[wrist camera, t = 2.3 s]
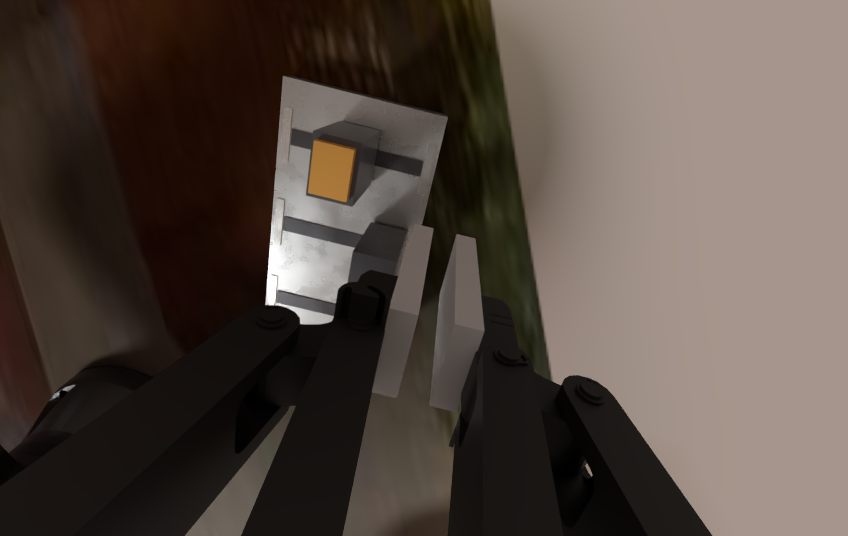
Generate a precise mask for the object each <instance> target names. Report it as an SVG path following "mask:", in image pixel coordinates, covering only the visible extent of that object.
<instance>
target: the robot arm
mask: <svg viewBox="0 0 848 536" xmlns="http://www.w3.org/2000/svg"><path fill="white" fill-rule="evenodd" d="M433 229H434V228H430V227H426V226H422V225H418V224H414V227H413V231H412V234H411V237H410V240H409V244H408V247H407V250H406V253H405V257H404V260H403V263H402V266H401V270H400V273H399V276H395V275H391V274H386V273H382V272H378V271H374V270H369V271H367V272H365V273H364V274H362V275H361V276H360V278H359V280H358V282H349V283H346V284H344V285H342V286H341V287H340V288H339V289H338V293H337V299H336V305H335V312H334V318H333V320H332V321H331V322H329V323H324V324H313V325H312V324H300V317H299V316H298V315H297V314H296V313H295V312H294V311H292V310H290V309H289V308H286V307H282V306H278V305H264V306H258V307H255V308H253V309H250V310H248V311H247V312H245V313H244V314H242V315H241V316H239V317H238V318H237V319H235V320H234V321H232V322H231V323H230V324H228V325H227V326H225V327H224V328H223V329H221V330H220V331H218V332H217V333H216V334H214V335H213V336H211V337H210V338H208V339H207V340H206V341H204V342H203V343H201V344H200V345H199V346H197V347H196V348H194V349H193V350H192V351H190V352H189V353H187V354H186V355H184V356H183V357H182V358H180V359H179V360H177V361H176V362H175V363H173V364H172V365H170V366H169V367H168V368H166V369H165V370H163V371H162V372H161V373H159V374H158V375H156V376H155V377H153V378H150V377H148V376H145V375H143V374H141V373H138V372H135V371H132V370H128V369H124V368H119V367H106V366H105V367H95V368H90V369H87V370H84V371H82V372H80V373H78V374H77V375H76V376H74V377H73V378H72V379H70V380H69V381H68V382H67V383H65V384H64V385H63V386H61V387H60V388H59V389H58V390H57V391H56V392H55V393H54V394H53V396H52V397H51V399H50V400H49V402H48V403H47V405H46V406H45V408H44V409H43V411H42V412H41V414H40V415H39V417H38V418H37V420H36V421H35V422H34V424H33V425H32V427H31V428H30V430H29V431H28V433H27V434H26V436H25V437H24V439H23V440H22V442H21V443H20V444H19V445H18V446H17V447H15V448H14V449H13V450H12V451H10V452H9V453H8V452H7V451H6V450H5V449H4V448H3V447H2V446H1V445H0V536H185V535H186V533H187V532H188V531H189V530H190V529H191V527H192V526H193V525H194V524H195V522H196V521H197V520H198V519H199V518H200V516H201V515H202V514H203V513H204V512H205V510H206V509H207V508H208V507H209V506H210V504H211V503H212V502H213V501H214V500H215V498H216V497H217V496H218V495H219V493H220V492H221V491H222V490H223V489H224V487H225V486H226V485H227V484H228V483H229V481H230V480H231V479H232V478H233V477H234V475H235V474H236V473H237V472H238V470H239V469H240V468H241V467H242V466H243V464H244V463H245V462H246V461H247V460H248V458H249V457H250V456H251V455H252V454H253V452H254V451H255V450H256V449H257V448H258V446H259V445H260V444H261V443H262V441H263V440H264V439H265V438H266V437H267V435H268V434H269V433H270V432H271V431H272V429H273V428H274V427H275V426H276V425H277V423H278V422H279V421H280V420H281V419H282V417H283V416H284V415H285V414H286V412H287V411H288V409H289V407H290V406H295V405H296V407H295V410H294V412H293V414H292V417H291V419H290V422H289V424H288V426H287V429H286V431H285V433H284V436H283V438H282V440H281V443H280V445H279V448H278V450H277V452H276V455H275V457H274V459H273V462H272V464H271V466H270V469H269V471H268V473H267V476H266V478H265V481H264V483H263V485H262V488H261V490H260V492H259V495H258V497H257V499H256V502H255V504H254V507H253V509H252V511H251V514H250V516H249V518H248V521H247V523H246V525H245V528H244V530H243V533H242V535H241V536H342V535H343V530H344V525H345V520H346V515H347V510H348V505H349V501H350V496H351V491H352V486H353V481H354V476H355V471H356V466H357V462H358V457H359V452H360V447H361V442H362V437H363V432H364V427H365V423H366V418H367V413H368V408H369V403H370V398H371V393H377V394H381V395H385V396H390V397H394V398H397V396H398V392H399V388H400V384H401V380H402V377H403V373H404V369H405V365H406V361H407V358H408V354H409V350H410V346H411V342H412V338H413V335H414V331H415V327H416V323H417V319H418V316H419V310H420V304H421V298H422V293H423V287H424V281H425V275H426V269H427V264H428V258H429V252H430V246H431V240H432V235H433ZM460 400H461V413H460V416H459V419H458V422H457V424H456V427H455V430H454V433H453V436H452V438H451V441H450V444H449V446H451V447H453V446H454V443H455V447H454V460H453V474H452V487H451V500H450V514H449V527H448V536H712V535H711V533H710V532H709V530H708V529H707V528H706V526H705V525H704V523H703V522H702V520H701V519H700V518H699V516H698V515H697V513H696V512H695V511H694V509H693V508H692V506H691V505H690V504H689V502H688V501H687V499H686V498H685V496H684V495H683V494H682V492H681V491H680V489H679V488H678V486H677V485H676V484H675V482H674V481H673V479H672V478H671V477H670V475H669V474H668V472H667V471H666V470H665V468H664V467H663V465H662V464H661V462H660V461H659V460H658V458H657V457H656V455H655V454H654V453H653V451H652V450H651V448H650V447H649V445H648V444H647V443H646V441H645V440H644V438H643V437H642V436H641V434H640V433H639V431H638V430H637V428H636V427H635V426H634V424H633V423H632V421H631V420H630V419H629V418H628V416H627V414H626V413H625V412H624V410H623V409H622V407H621V406H620V404H619V403H618V402H617V400H616V399H615V397H614V396H613V395H612V394H611V393H610V392H609V391H608V390H607V389H606V388H605V387H603V386H602V385H601V384H599V383H598V382H596V381H594V380H592V379H590V378H586V377H582V376H578V375H577V376H569V377H567V378H565V379H564V381H563V383H562V385H559V384H556V383H554V382H552V381H550V380H548V379H545V378H544V377H542V376H540V375H538V374H536V373H535V372H534V369H533V364H532V362H531V360H530V358H529V357H528V356H527V355H526V354H525V353H524V352H523V351H522V350H520V349H519V347H518V342H517V338H516V333H515V329H514V324H513V320H512V315H511V310H510V309H509V307H508V306H507V305H506V304H505V303H504V301H503V300H499V299H495V298H491V297H486V296H482V295H481V290H480V280H479V270H478V260H477V249H476V239H475V238H471V237H467V236H463V235H459V234H456V238H455V241H454V245H453V249H452V252H451V256H450V259H449V263H448V266H447V270H446V274H445V277H444V281H443V284H442V288H441V291H440V297H439V308H438V319H437V330H436V341H435V352H434V363H433V374H432V385H431V396H430V406H432V407H437V408H441V409H445V410H449V411H454V412H457V409H458V406H459V403H460ZM586 464H588V465H589V467H590V469H591V472H592V474H593V476H592V477H591V476H590V474H589V473H588V471H587V469H586V467H585V465H586Z"/></svg>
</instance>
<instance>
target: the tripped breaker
mask: <svg viewBox="0 0 848 536" xmlns="http://www.w3.org/2000/svg"><path fill="white" fill-rule="evenodd" d="M379 137H380V131H379V130H375V129H371V128H367V127H363V126H359V125H355V124H351V123H347V122H343V121H338V122H336V123H333V124H330V125H327V126H325V127H322V128H319V129H316V130H313V134H312V143H311V152H310V161H309V170H308V179H307V188H306V196H310V197H314V198H318V199H322V200H326V201H330V202H334V203H338V204H343V205H347V206H351V207H353V205H354V204H355V203H356V202H357V201H358V199H359V198H360V197H361V196H362V195H363V193H364V192H365V191H366V190H367V189H368V187H369V186H370V185H371V182H372V177H373V171H374V165H375V160H376V154H377V148H378V143H379Z"/></svg>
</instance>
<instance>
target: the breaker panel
mask: <svg viewBox="0 0 848 536" xmlns="http://www.w3.org/2000/svg"><path fill="white" fill-rule="evenodd" d="M447 119H448V115H446V114H442V113H438V112H434V111H430V110H427V109H423V108H419V107H415V106H411V105H407V104H403V103H399V102H395V101H391V100H387V99H383V98H379V97H375V96H371V95H367V94H363V93H359V92H355V91H351V90H347V89H343V88H339V87H335V86H331V85H327V84H323V83H319V82H315V81H311V80H307V79H303V78H299V77H296V76H283V83H282V96H281V109H280V121H279V134H278V147H277V160H276V173H275V186H274V199H273V212H272V225H271V238H270V251H269V264H268V277H267V290H266V303H265V305H278V306H282V307H286V308H289V309H290V310H292V311H294V312H295V313H296V314H297V315H298V316H299V317H300V324H312V325H313V324H324V323H329V322H331V321H332V320H333V318H334V312H335V305H336V299H337V293H338V289H339V288H340V287H341V286H342V285H344V284H346V283H349V282H358V280H359V278H360V276H361V275H362V274H364V273H365V272H367V271H369V270H374V271H378V272H382V273H386V274H391V275H395V276H399V273H400V270H401V266H402V263H403V260H404V257H405V253H406V250H407V247H408V244H409V240H410V237H411V234H412V231H413V227H414V224H418V225H422V223H423V219H424V215H425V211H426V206H427V202H428V198H429V194H430V190H431V186H432V182H433V177H434V173H435V169H436V165H437V161H438V157H439V152H440V148H441V144H442V140H443V136H444V132H445V127H446V123H447ZM338 121H343V122H347V123H351V124H355V125H359V126H363V127H367V128H371V129H375V130H379V131H380V137H379V143H378V148H377V154H376V160H375V165H374V171H373V177H372V182H371V185H370V186H369V187H368V189H367V190H366V191H365V192H364V193H363V195H362V196H361V197H360V198H359V199H358V201H357V202H356V203H355V204H354V205H353V207H351V206H347V205H343V204H338V203H334V202H330V201H326V200H322V199H318V198H314V197H310V196H306V188H307V179H308V170H309V161H310V152H311V143H312V134H313V130H316V129H319V128H322V127H325V126H327V125H330V124H333V123H336V122H338Z"/></svg>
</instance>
